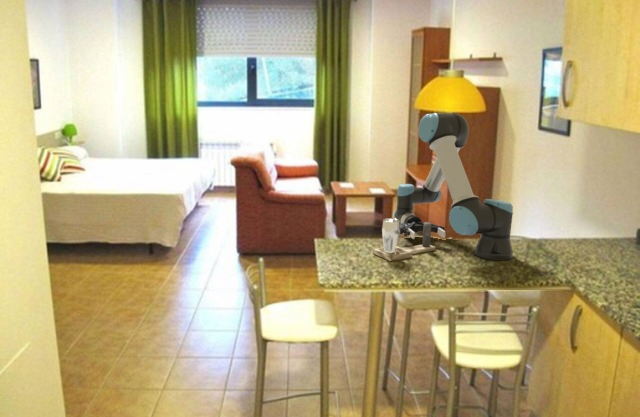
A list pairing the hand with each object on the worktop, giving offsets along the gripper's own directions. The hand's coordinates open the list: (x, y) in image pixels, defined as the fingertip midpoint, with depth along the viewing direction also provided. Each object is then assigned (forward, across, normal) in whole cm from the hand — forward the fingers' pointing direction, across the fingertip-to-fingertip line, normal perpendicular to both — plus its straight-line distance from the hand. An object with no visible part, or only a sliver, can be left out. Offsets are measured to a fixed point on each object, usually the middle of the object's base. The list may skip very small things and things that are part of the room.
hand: (429, 235), depth 250 cm
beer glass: (+4, +18, -7) cm, 20 cm away
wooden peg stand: (+1, +10, -7) cm, 13 cm away
